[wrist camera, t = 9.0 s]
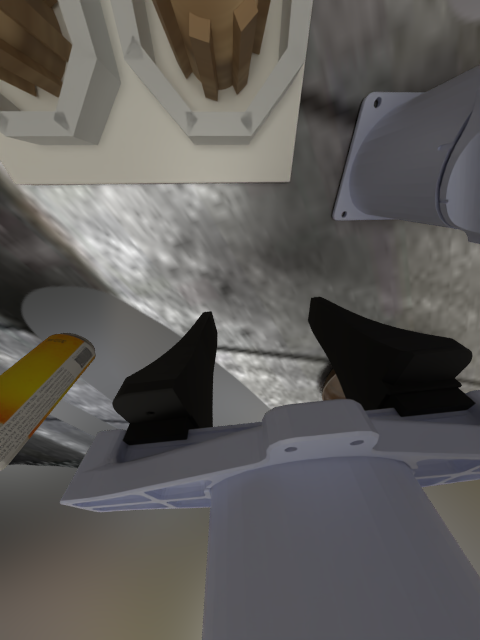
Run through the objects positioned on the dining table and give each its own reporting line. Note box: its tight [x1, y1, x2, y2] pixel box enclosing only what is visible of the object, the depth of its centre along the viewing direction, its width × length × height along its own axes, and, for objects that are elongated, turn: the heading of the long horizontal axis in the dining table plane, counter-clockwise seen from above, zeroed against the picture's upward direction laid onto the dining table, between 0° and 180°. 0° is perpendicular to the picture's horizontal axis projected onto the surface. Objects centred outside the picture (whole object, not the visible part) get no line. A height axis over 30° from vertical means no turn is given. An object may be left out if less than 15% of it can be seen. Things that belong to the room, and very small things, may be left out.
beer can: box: [0, 333, 95, 471], centre depth 20 cm, size 6×6×15 cm
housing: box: [0, 0, 313, 185], centre depth 9 cm, size 22×14×4 cm, turn 90°
